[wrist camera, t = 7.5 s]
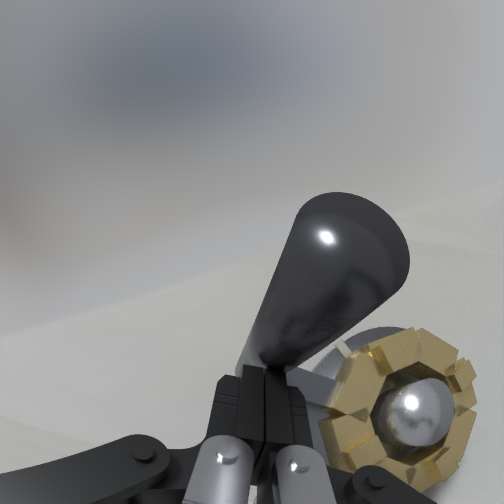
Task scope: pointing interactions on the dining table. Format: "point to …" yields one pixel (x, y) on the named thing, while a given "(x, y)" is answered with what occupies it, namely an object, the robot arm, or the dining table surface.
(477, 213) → the dining table surface
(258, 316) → the lever crank
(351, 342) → the flange
